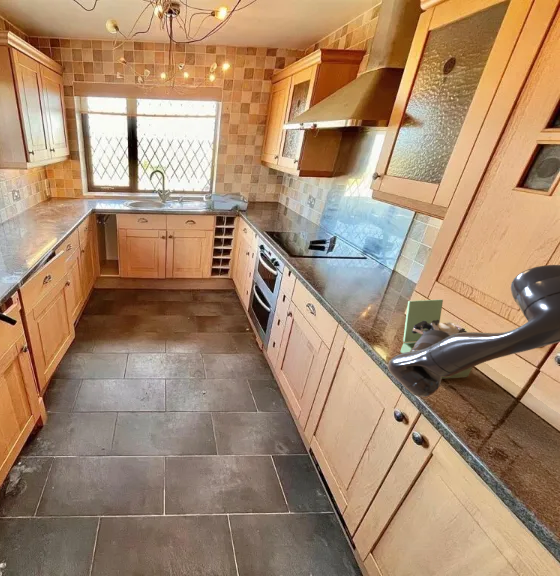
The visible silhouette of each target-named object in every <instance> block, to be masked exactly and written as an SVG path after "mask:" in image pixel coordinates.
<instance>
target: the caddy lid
mask: <svg viewBox="0 0 560 576" xmlns="http://www.w3.org/2000/svg"><path fill="white" fill-rule="evenodd" d="M443 302H444V299H439V298H438V299H423V300H422V299H421V300H407V307H406V315H405V324H404V331H403V338H402V342H403V343H408V342H417V341H418V340H419V339H420V337H421V336H422V334H420V333H416V334H415V333H412V330H413V327H414V325H416V324H418V323H420V322H422V321H427V322H428V323H431V322H432V321H433V320H435V321H436V320H440V321H439V323H441V316H442V309H443ZM424 330H428V329H426V328H425V329H424ZM424 330H423V331H424Z"/></svg>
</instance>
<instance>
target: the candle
mask: <svg viewBox="0 0 560 576" xmlns="http://www.w3.org/2000/svg"><path fill="white" fill-rule="evenodd" d="M436 326H437V327H438V329H439V330H440V331H443V332H445V333H449V334H450V333H455V332H456V333H459V332H460V329H459V328H458V327H457V326H456V324H455V323H454V322H450V321H449V322H448V321H447V322H440V323H439V324H437V325H436Z"/></svg>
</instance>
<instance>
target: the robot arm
mask: <svg viewBox="0 0 560 576" xmlns="http://www.w3.org/2000/svg"><path fill="white" fill-rule="evenodd" d="M510 293H511V297H512V298H513V300H514V302H515V304H516V305H517V306H518V308H519V310H520V311H521V313H522V314H523V316H524V318H525V319H526V321H527V322H526V323H524V324H523V325H520V326H519V327H516V328H515V329H512V330H508V331H503V332H502V331H501V332H483V331H482V332H481V331H480V332H479V331H467V330H466V328H463V327H462V328H461V329H459V331H460V332H459V333H456V332H455V333H450V334H449V333H445V332H443V331H440V330H439V329H438V327H437V326H436V325H437V324H439V321H440V322H441V319H440V320H436V321H435V320H433V321H432V322H431V323H428V322H427V321H422V322H420V323H418V324H416V325H414V327H413V330H412V333H415V334H416V333H420V334H422V336H421V337H420V339H419V340H418V341H415V342H416V343H415V345H414V347H413V348H412V349H411V351H410V352H406V353H398V354H397V355H394V356H393V357H392V358H391V359H390V360H389V361H388V363H387V370H388V372H389V373H390V374H391V375H392V376H393V378H395V379H396V380H397V381H398V382H399V383H400V384H401V385H402V386H403V387H404V388H405V389H406V390H407V391H408V392H409V393H410V394H412V395H413V396H416V397H420V398H424V397H425V398H426V397H429V396H432V395H433V394H435V393H436V392H437V391H438V389H440V386H441V383H442V379H441V376H442V377H449V376H452V375H455V374H457V373H460V372H462V371H464V370H467V369H469V368H471V367H472V368H474V367H476V366H479V365H482V364H484V363H486V362H490V361H492V360H495V359H499V358H503V357H508V356H511V355H512V356H513V355H515V354H519V353H525V352H527V351H531V350H532V351H533V350H535V349H539V348H542V347H546V346H550V345H554V344H557V343H560V264H545V265H538V266H535V267H532V268H528V269H526V270H524V271H521V272H520V273H519V274H517V275H516V276H515V277H514V278H513V280H512V282H511V284H510ZM425 328H426V329H428V330H424V329H425ZM423 330H424V331H423Z"/></svg>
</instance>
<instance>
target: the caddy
mask: <svg viewBox="0 0 560 576" xmlns="http://www.w3.org/2000/svg"><path fill="white" fill-rule="evenodd" d="M416 342H417V341H414V342H402V343H403V344H402V346H401V349H400V354H402V353H406V352H410V351H411V349H412V348H413V347H414V345H415V343H416ZM472 369H473V367H471V368H469V369H467V370H464V371H462V372H460V373H457V374H455V375H452V376H449V377H442V376H441V380H443V379H459V378H461V379H462V378H468V377H469V375H470V373H471V371H472Z"/></svg>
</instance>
